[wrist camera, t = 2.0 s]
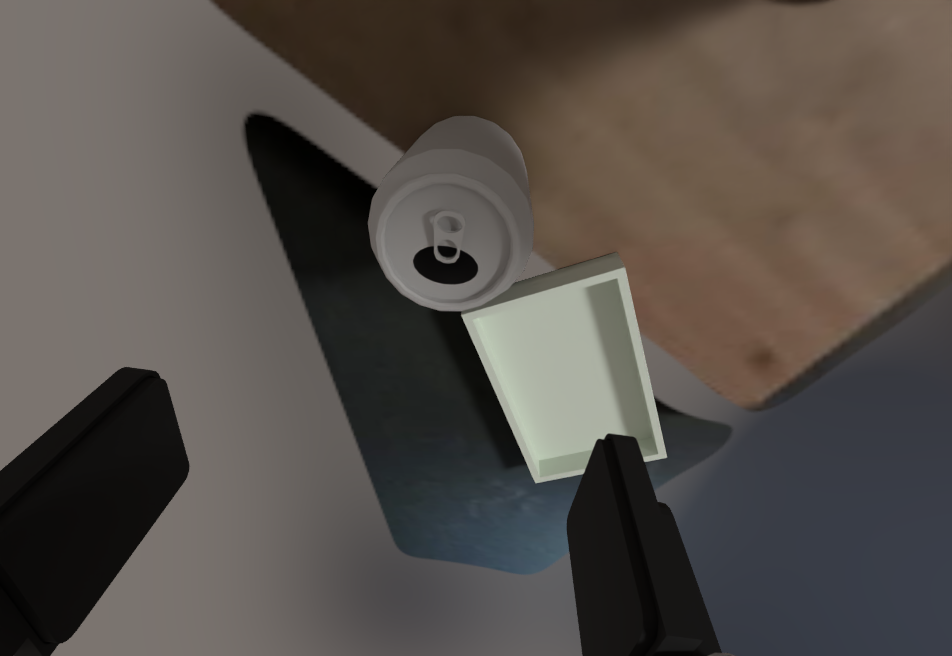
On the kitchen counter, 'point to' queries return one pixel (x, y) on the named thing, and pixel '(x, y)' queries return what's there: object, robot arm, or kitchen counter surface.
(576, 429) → the tray
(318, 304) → the kitchen counter surface
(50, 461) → the robot arm
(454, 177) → the can
